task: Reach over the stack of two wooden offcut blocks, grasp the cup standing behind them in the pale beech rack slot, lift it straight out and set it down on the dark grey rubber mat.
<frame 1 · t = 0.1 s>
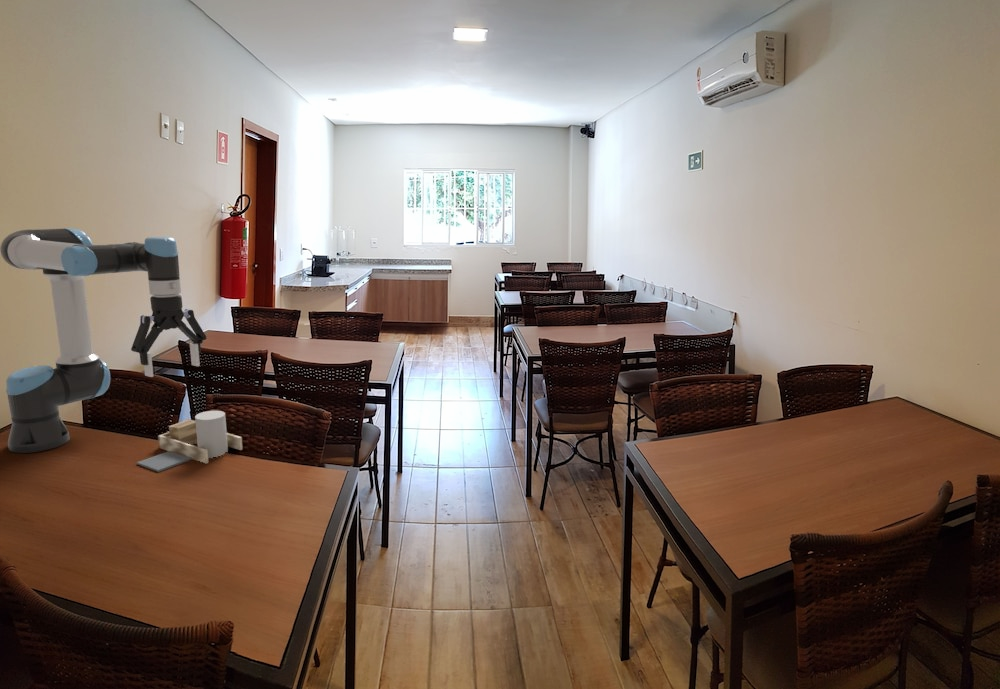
hand: (173, 370, 172), 28 cm above the table, fingers open, 13 cm apart
rack: (200, 448, 190), on the table
mat: (164, 462, 180), on the table
offcut low: (185, 444, 193), resting in rack, touching offcut top
cup: (213, 453, 187), on the table
offcut top: (184, 434, 192), point 3 cm above the table, touching offcut low
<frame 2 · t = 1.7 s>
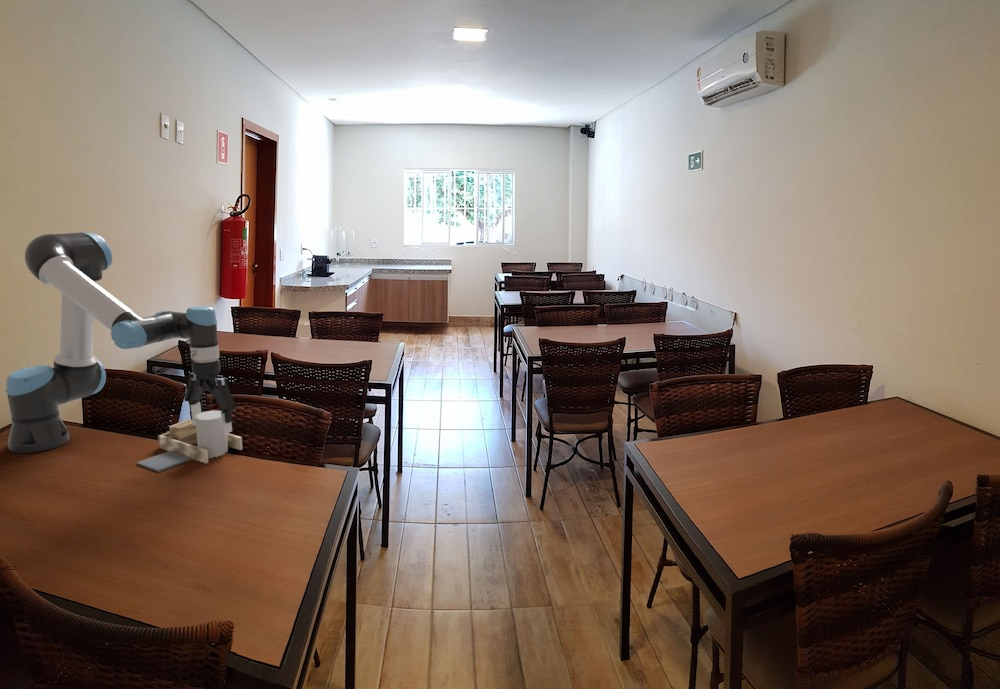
hand: (212, 428, 185), 8 cm above the table, fingers open, 13 cm apart
offcut low: (185, 444, 193), resting in rack
offcut top: (184, 434, 192), point 3 cm above the table
everything else where it was.
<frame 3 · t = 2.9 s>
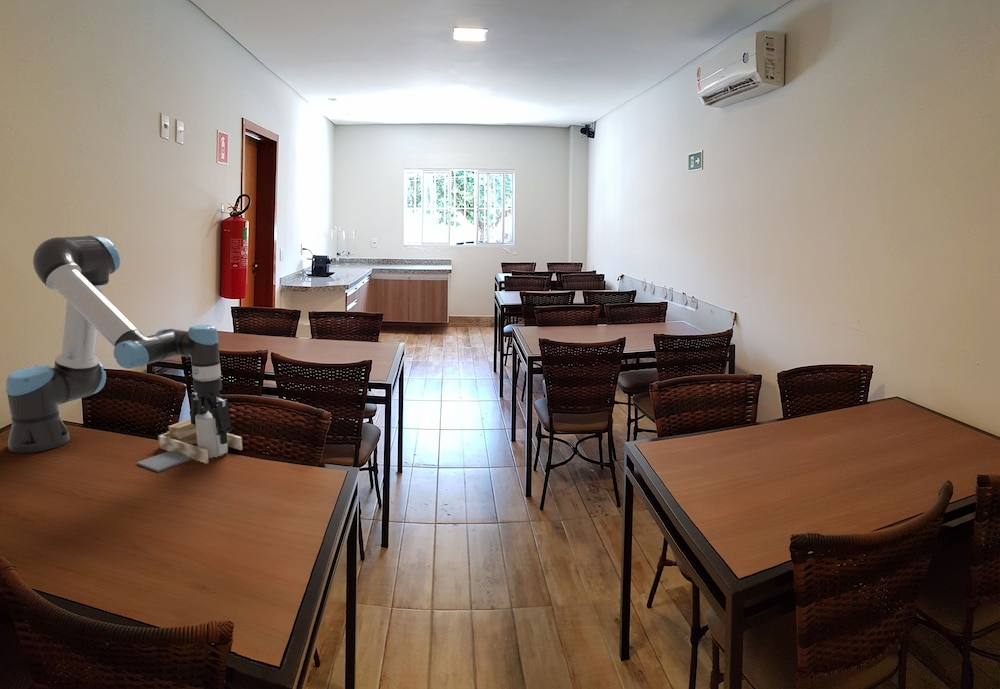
hand: (213, 450, 187), 1 cm above the table, fingers closed on cup, 8 cm apart
cup: (213, 453, 187), on the table, touching gripper
everything else where it was.
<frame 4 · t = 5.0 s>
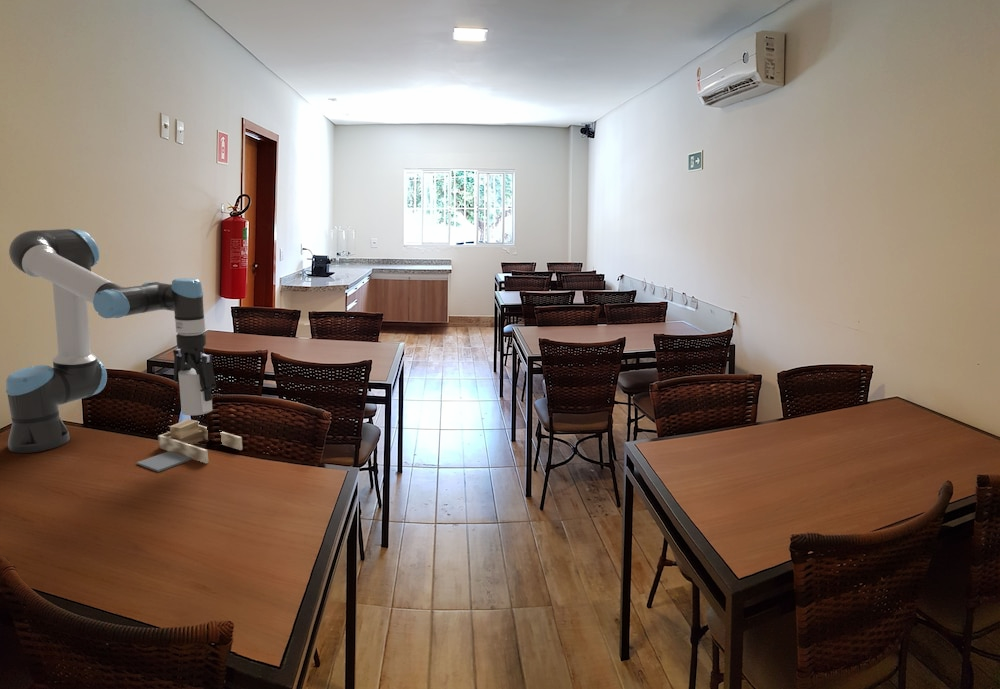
hand: (196, 408, 182), 15 cm above the table, fingers closed on cup, 8 cm apart
offcut low: (186, 444, 193), resting in rack, touching offcut top
cup: (197, 411, 182), point 14 cm above the table, touching gripper
offcut top: (185, 434, 192), point 3 cm above the table, touching offcut low
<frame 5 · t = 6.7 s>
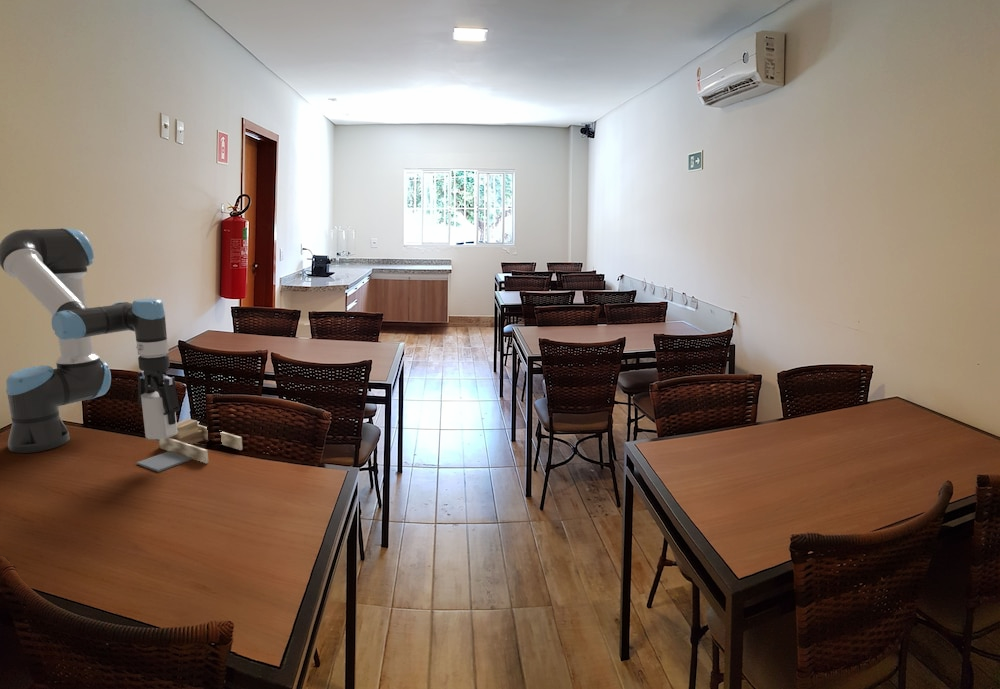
hand: (161, 431, 177), 9 cm above the table, fingers closed on cup, 8 cm apart
cup: (161, 434, 178), point 8 cm above the table, touching gripper
everything else where it was.
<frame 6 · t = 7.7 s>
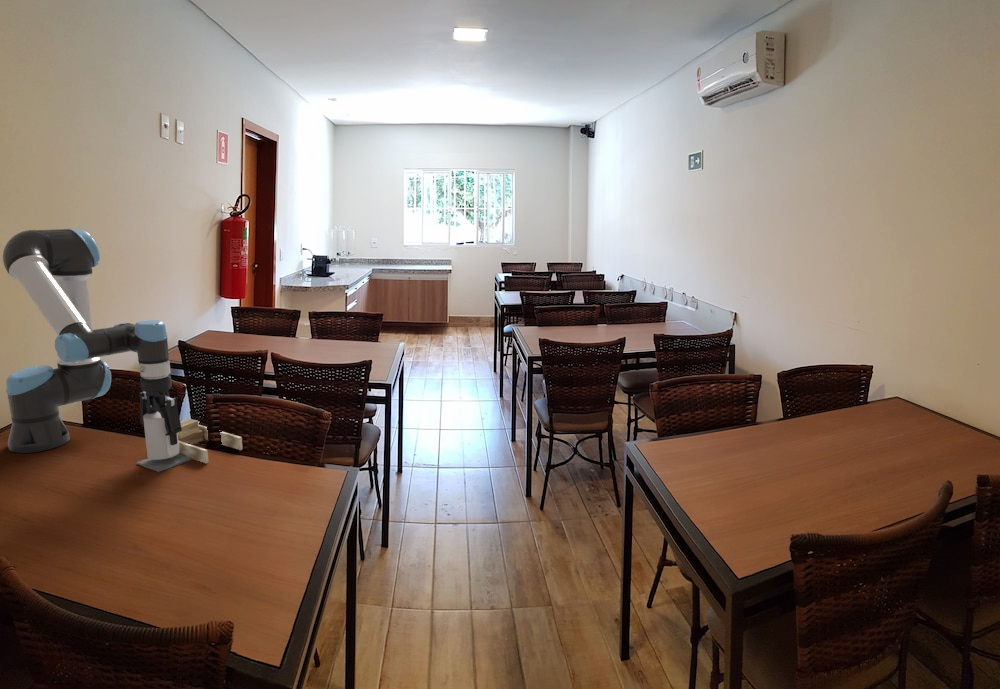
hand: (163, 451, 179), 3 cm above the table, fingers closed on cup, 8 cm apart
cup: (163, 454, 179), point 2 cm above the table, touching gripper
everything else where it was.
when the fingers open (3 cm above the table, at t = 8.3 s): cup drops 1 cm, resting on mat.
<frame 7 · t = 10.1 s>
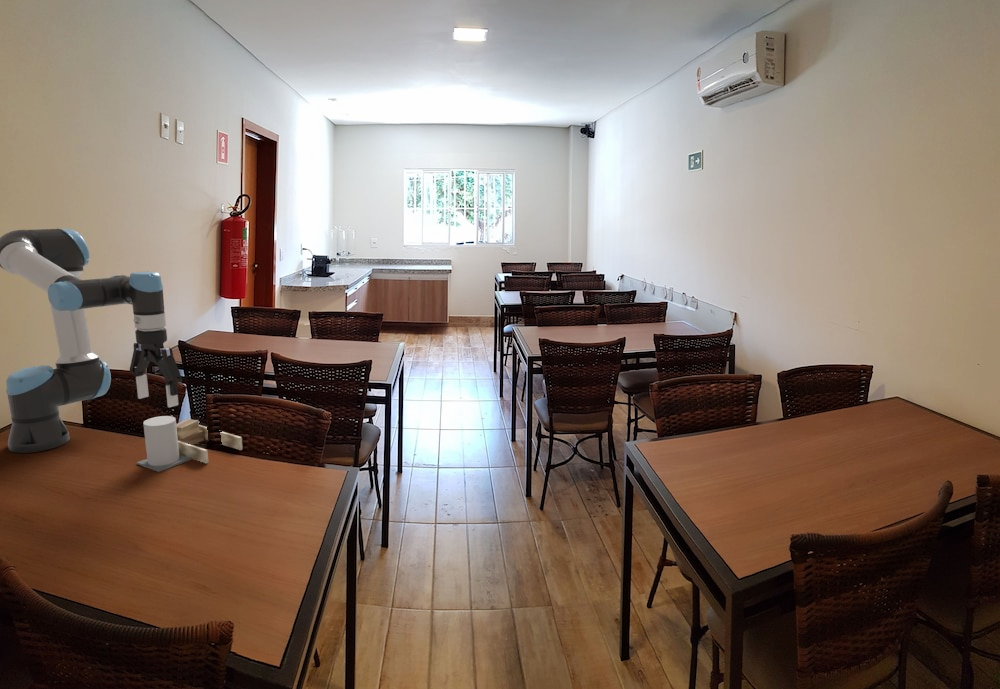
hand: (158, 401, 175), 18 cm above the table, fingers open, 13 cm apart
cup: (163, 460, 179), resting on mat
everything else where it was.
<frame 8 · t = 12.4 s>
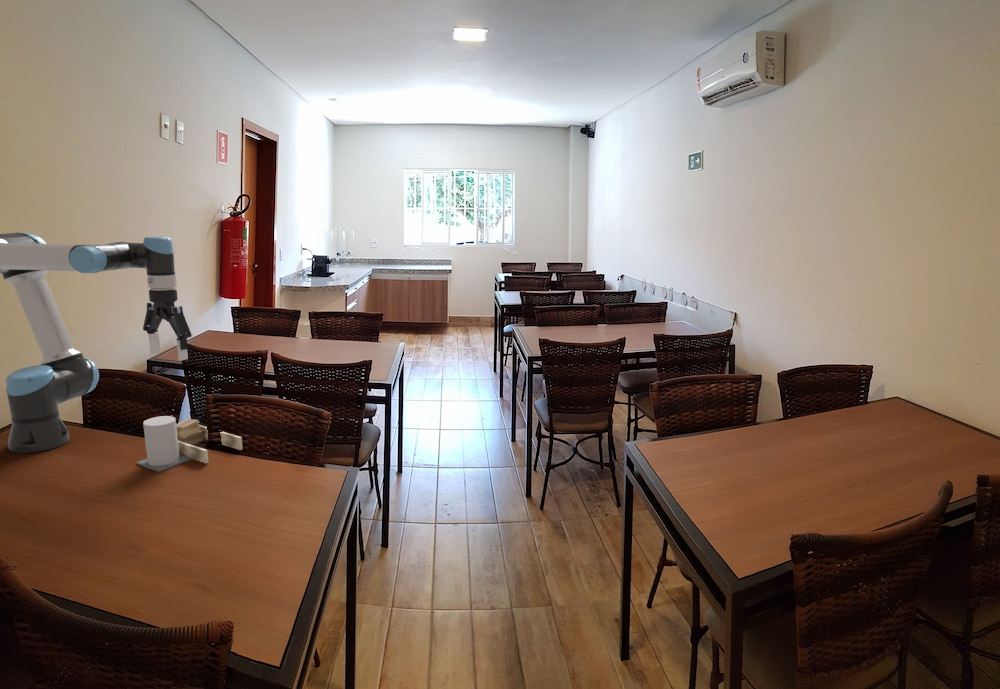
hand: (169, 356, 192), 27 cm above the table, fingers open, 13 cm apart
offcut low: (186, 444, 193), resting in rack
offcut top: (186, 433, 193), point 3 cm above the table
everything else where it was.
at the end: cup inside the target area on the mat (0.2 cm from its centre), point 0.4 cm above the mat's base; cup tilted 0°; offcut top moved 0.8 cm from its start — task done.
